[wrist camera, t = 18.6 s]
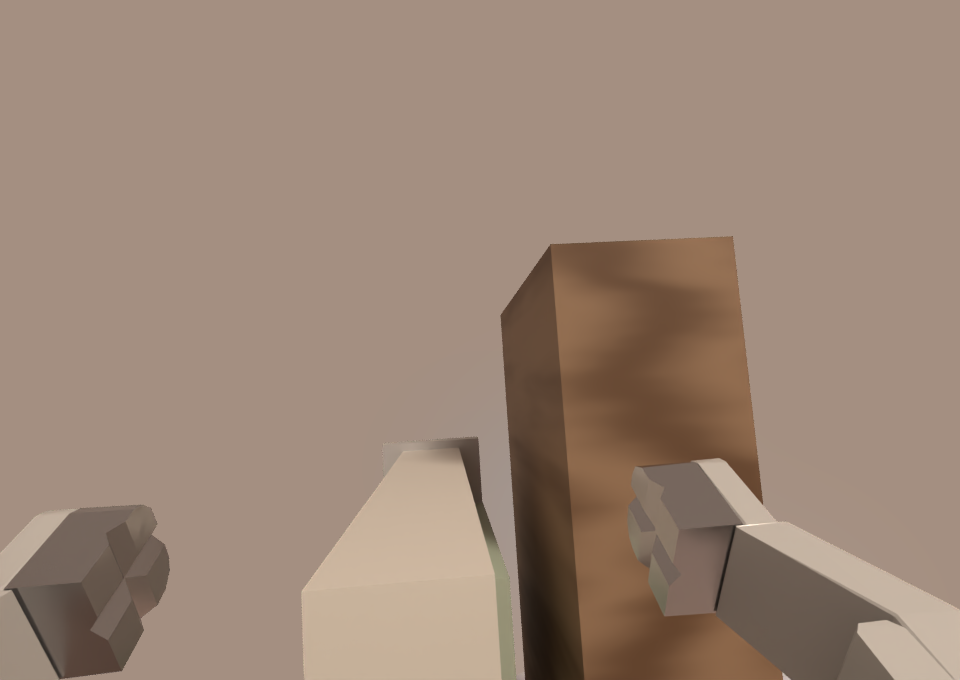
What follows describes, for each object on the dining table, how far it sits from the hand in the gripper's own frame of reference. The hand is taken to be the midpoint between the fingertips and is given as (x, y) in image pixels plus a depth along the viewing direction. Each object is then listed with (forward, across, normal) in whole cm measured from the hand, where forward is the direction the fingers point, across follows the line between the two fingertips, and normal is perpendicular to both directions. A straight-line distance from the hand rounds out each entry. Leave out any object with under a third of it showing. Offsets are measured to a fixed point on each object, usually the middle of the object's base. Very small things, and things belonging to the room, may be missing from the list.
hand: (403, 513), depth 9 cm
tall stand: (+3, -7, +24) cm, 25 cm away
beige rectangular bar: (+6, 0, +7) cm, 9 cm away
